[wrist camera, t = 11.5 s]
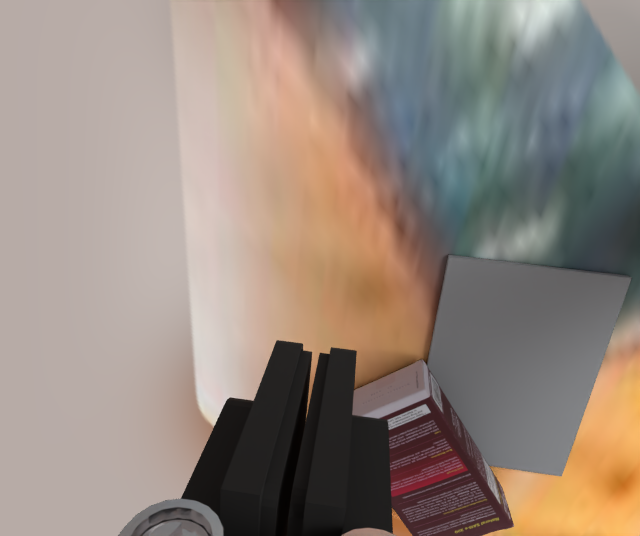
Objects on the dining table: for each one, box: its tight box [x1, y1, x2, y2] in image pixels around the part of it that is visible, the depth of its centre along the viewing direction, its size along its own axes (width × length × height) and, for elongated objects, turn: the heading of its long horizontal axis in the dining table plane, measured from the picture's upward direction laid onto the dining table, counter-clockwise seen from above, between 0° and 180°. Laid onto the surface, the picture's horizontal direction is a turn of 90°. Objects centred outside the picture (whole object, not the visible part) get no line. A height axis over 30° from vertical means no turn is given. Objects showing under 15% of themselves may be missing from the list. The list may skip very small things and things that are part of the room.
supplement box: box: [352, 359, 514, 536], centre depth 43 cm, size 9×5×16 cm
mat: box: [427, 255, 632, 476], centre depth 42 cm, size 14×20×1 cm
